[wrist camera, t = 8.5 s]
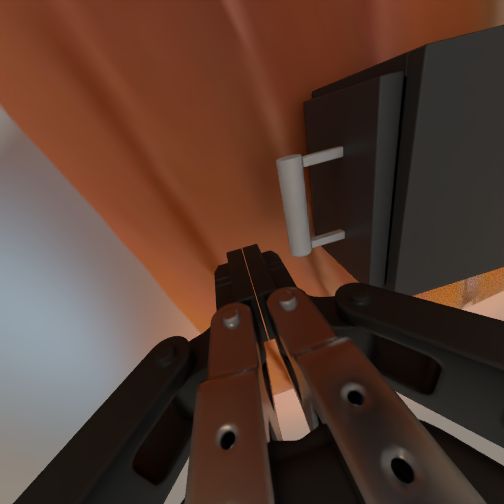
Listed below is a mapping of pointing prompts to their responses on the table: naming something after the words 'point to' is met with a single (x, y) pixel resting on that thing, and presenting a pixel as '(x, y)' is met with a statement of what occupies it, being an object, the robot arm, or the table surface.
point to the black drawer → (348, 176)
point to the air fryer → (446, 161)
